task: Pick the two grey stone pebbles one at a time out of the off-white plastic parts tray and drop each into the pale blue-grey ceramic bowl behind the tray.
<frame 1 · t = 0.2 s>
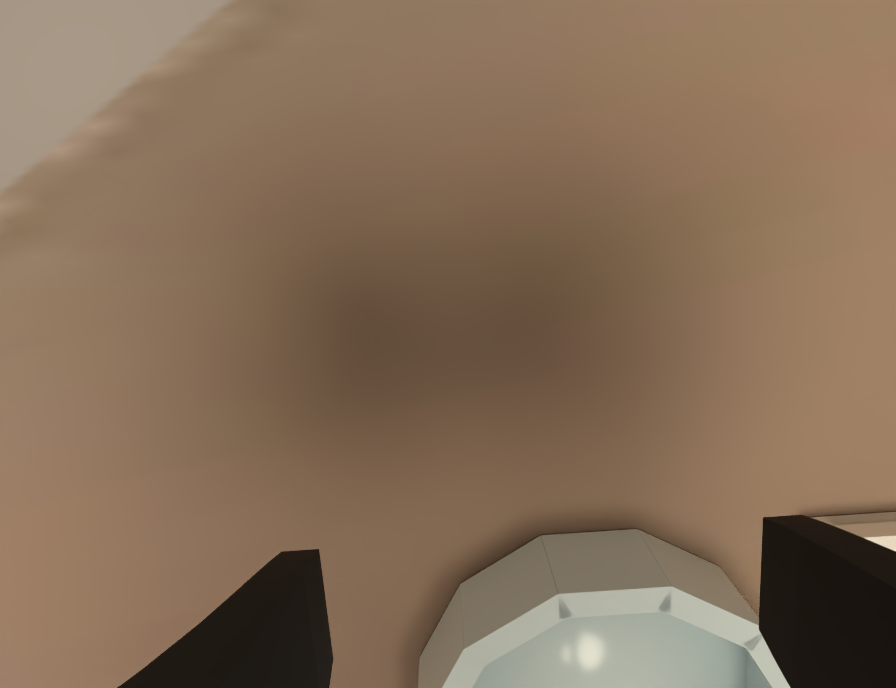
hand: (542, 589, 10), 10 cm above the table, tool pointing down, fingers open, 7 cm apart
bowl: (591, 685, 22), on the table
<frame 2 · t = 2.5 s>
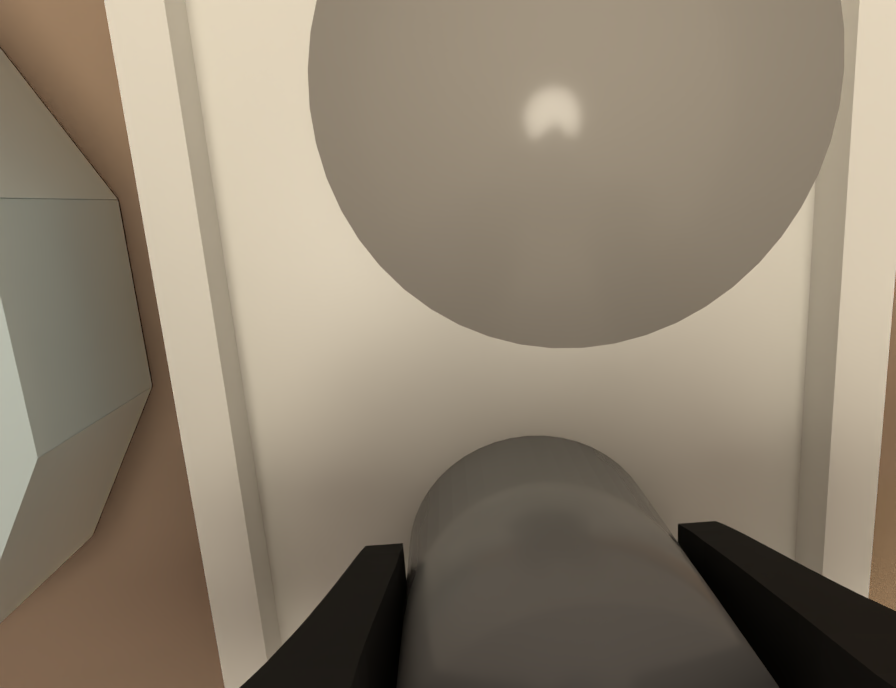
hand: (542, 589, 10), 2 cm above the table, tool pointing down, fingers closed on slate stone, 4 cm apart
basalt stone: (513, 142, 10), point 1 cm above the table, touching parts tray
slate stone: (532, 551, 11), point 1 cm above the table, touching gripper, parts tray
parts tray: (519, 353, 11), on the table
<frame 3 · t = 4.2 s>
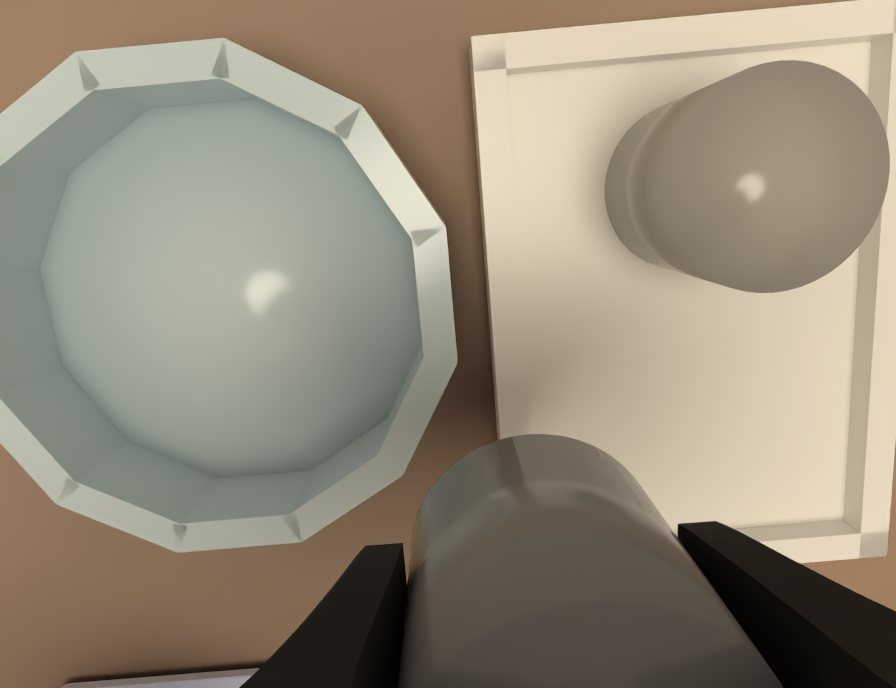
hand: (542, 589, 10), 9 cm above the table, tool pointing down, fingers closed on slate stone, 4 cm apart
bowl: (241, 298, 18), on the table
basalt stone: (686, 186, 17), point 1 cm above the table, touching parts tray
slate stone: (534, 550, 11), point 8 cm above the table, touching gripper
parts tray: (679, 311, 18), on the table
when the fingers open (4 cm above the table, at t = 5.9 s): slate stone drops 3 cm, resting on bowl.
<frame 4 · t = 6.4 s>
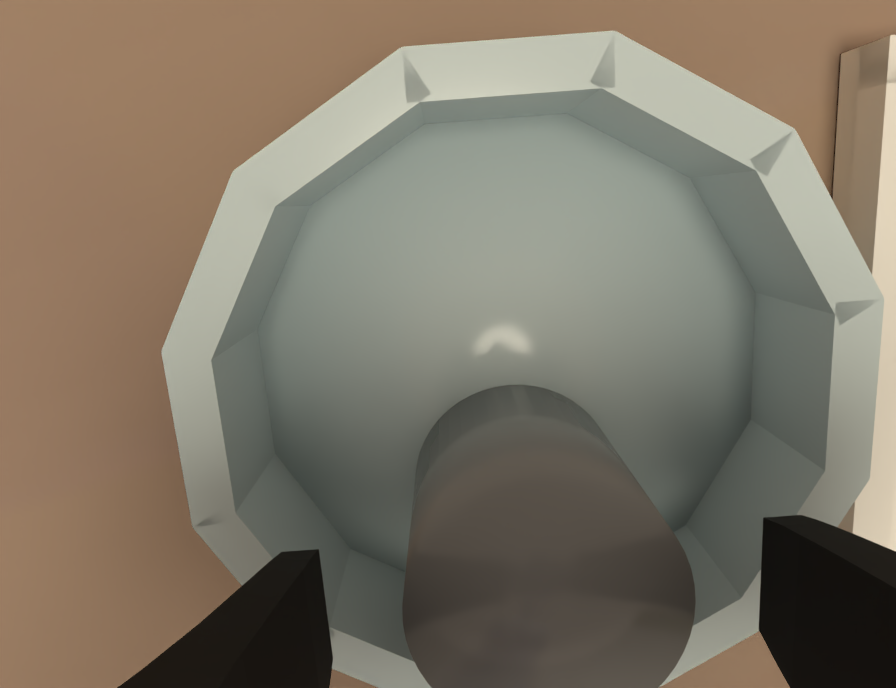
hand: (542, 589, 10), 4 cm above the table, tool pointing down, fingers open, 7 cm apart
bowl: (506, 369, 14), on the table
slate stone: (514, 479, 14), point 1 cm above the table, touching bowl
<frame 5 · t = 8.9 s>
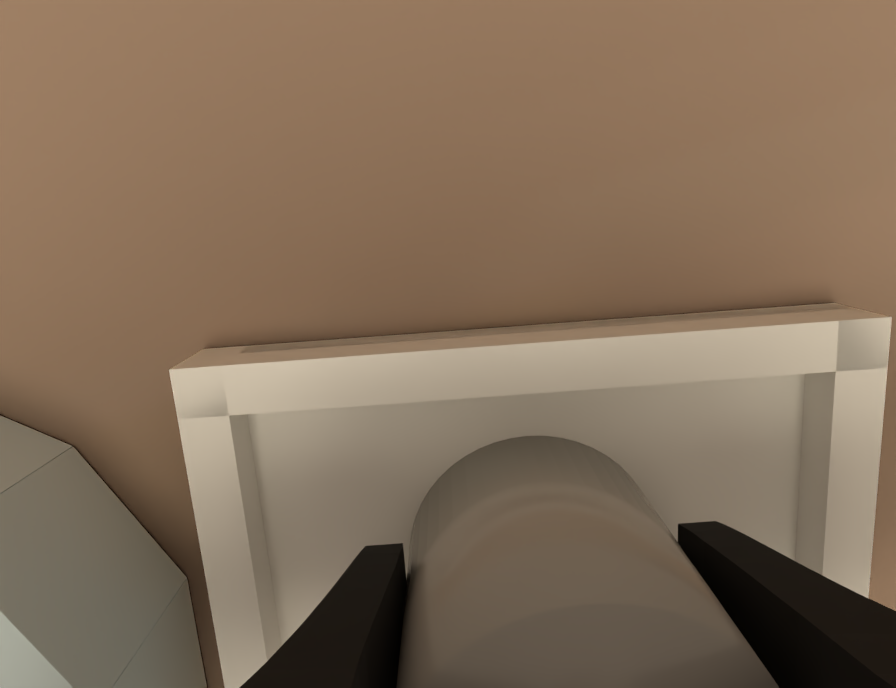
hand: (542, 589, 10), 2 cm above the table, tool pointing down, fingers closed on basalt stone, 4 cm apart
basalt stone: (532, 552, 11), point 1 cm above the table, touching gripper, parts tray
when the fingers open (4 cm above the table, at t = 12.4 s): basalt stone drops 3 cm, resting on bowl.
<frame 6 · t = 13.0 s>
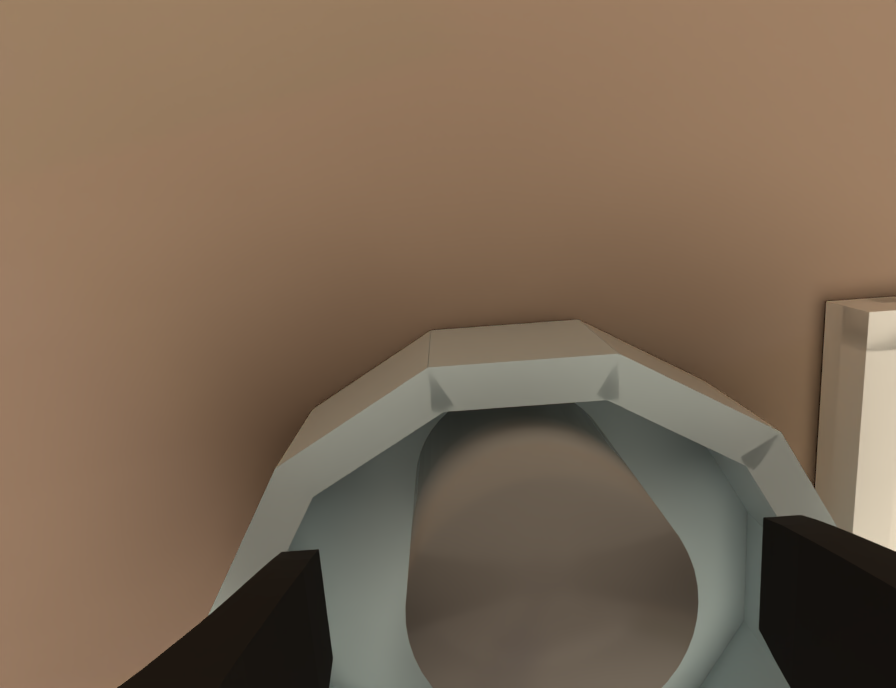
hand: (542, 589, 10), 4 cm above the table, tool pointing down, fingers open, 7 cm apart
bowl: (517, 571, 15), on the table
basalt stone: (514, 481, 14), point 1 cm above the table, touching bowl
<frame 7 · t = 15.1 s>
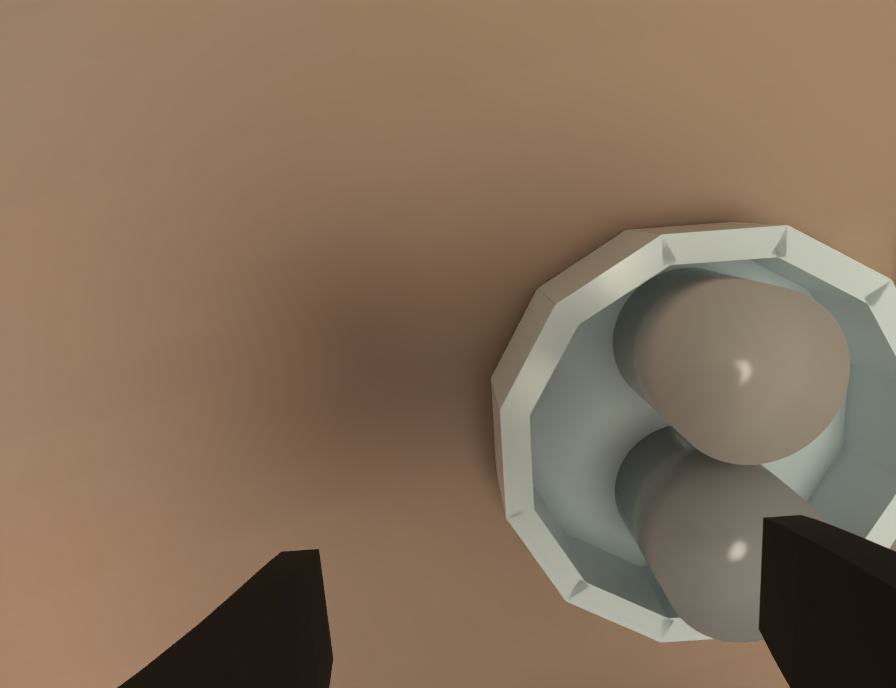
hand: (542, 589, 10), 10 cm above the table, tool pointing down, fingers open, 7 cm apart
bowl: (677, 412, 20), on the table
basalt stone: (683, 338, 19), point 1 cm above the table, touching bowl
slate stone: (681, 487, 20), point 1 cm above the table, touching bowl
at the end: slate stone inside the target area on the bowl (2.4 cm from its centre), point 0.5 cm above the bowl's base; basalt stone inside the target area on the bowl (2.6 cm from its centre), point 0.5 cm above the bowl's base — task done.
